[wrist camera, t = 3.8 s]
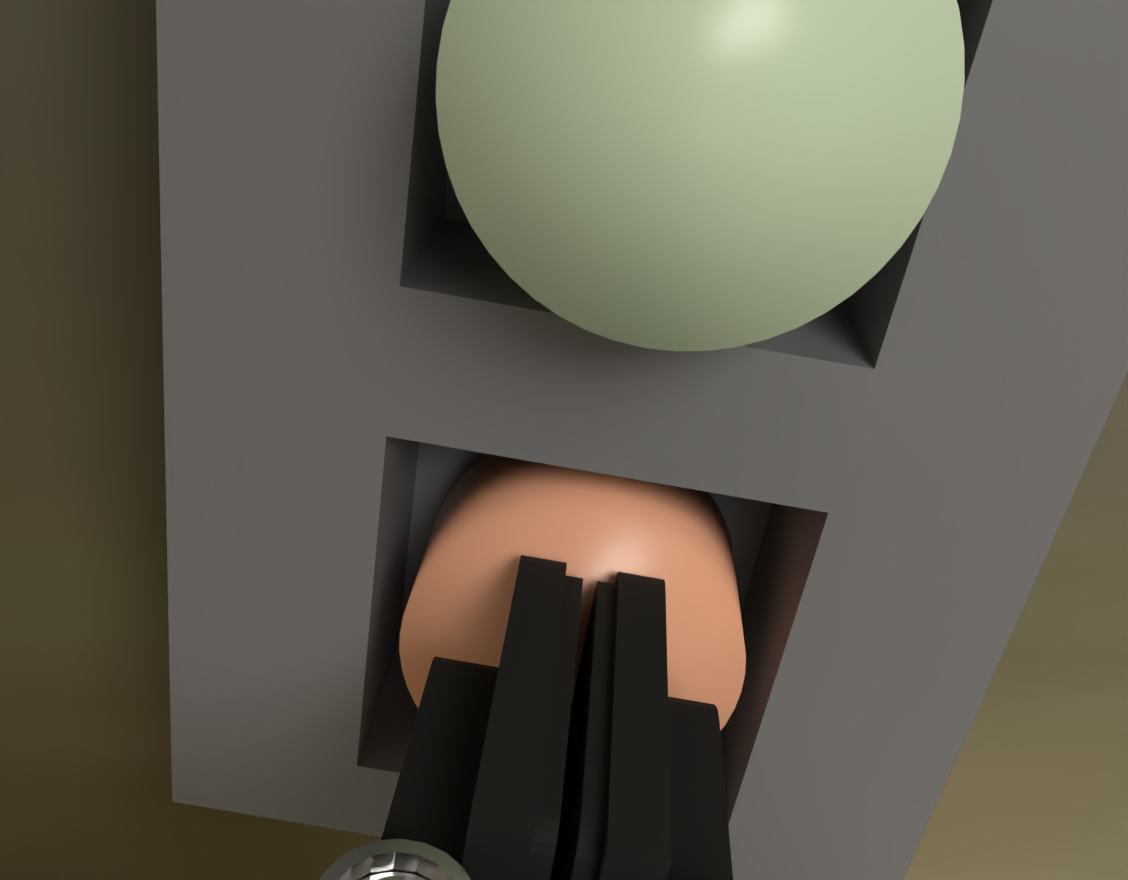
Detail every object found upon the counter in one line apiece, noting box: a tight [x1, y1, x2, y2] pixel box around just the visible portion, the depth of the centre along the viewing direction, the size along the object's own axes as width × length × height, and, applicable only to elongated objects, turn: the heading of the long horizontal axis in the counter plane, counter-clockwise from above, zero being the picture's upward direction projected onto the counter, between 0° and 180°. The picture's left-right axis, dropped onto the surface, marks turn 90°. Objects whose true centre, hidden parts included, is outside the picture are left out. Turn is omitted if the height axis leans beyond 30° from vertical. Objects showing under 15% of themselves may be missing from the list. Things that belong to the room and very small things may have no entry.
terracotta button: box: [399, 454, 746, 731], centre depth 13 cm, size 4×4×2 cm
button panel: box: [156, 0, 1128, 880], centre depth 11 cm, size 20×10×4 cm, turn 171°
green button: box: [436, 0, 965, 351], centre depth 9 cm, size 4×4×2 cm
